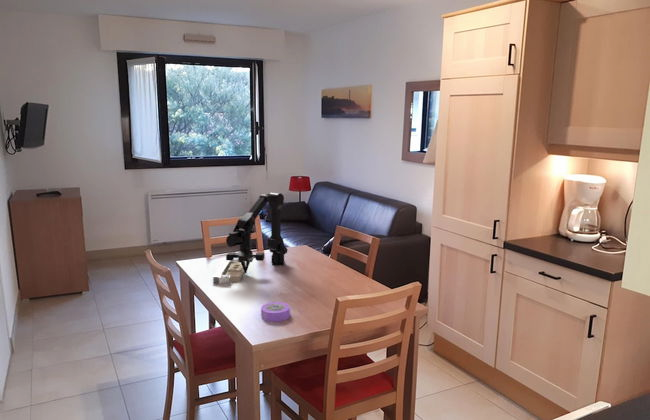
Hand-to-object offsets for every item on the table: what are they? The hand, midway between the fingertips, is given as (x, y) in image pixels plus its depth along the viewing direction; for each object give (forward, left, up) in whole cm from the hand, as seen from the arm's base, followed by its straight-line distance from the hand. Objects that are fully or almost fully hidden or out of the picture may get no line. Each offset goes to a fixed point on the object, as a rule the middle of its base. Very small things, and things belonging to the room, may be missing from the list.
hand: (245, 272), depth 245 cm
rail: (+10, 0, -1) cm, 10 cm away
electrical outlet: (+5, +1, -2) cm, 6 cm away
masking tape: (-20, +51, -2) cm, 55 cm away
